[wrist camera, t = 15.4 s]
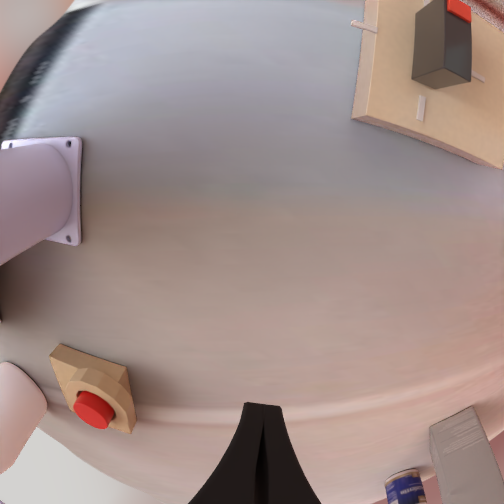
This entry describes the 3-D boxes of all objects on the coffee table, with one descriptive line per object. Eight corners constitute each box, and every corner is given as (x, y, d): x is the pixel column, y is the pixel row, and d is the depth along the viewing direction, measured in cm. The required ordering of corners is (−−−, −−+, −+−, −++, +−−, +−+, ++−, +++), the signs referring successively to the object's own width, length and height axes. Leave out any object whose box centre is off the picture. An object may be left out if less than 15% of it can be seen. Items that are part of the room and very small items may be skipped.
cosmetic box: (467, 431, 26) (499, 515, 12) (423, 453, 28) (447, 543, 13) (473, 401, 24) (518, 500, 9) (423, 427, 25) (456, 536, 11)
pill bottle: (424, 465, 30) (438, 515, 20) (408, 480, 32) (418, 527, 22) (393, 471, 30) (404, 525, 21) (378, 486, 32) (386, 535, 23)
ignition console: (77, 398, 27) (63, 421, 24) (57, 337, 24) (36, 361, 20) (147, 423, 27) (136, 450, 23) (138, 364, 24) (121, 395, 20)
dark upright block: (435, 90, 12) (474, 81, 8) (410, 79, 12) (446, 66, 8) (438, 24, 10) (472, 5, 6) (415, 13, 10) (445, -11, 6)
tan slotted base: (328, 113, 15) (340, 107, 12) (345, -19, 12) (356, -41, 9) (476, 163, 15) (504, 170, 12) (485, 43, 12) (510, 36, 9)
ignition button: (85, 408, 22) (78, 420, 21) (76, 385, 21) (68, 397, 19) (117, 420, 22) (111, 433, 20) (110, 398, 21) (103, 412, 19)
